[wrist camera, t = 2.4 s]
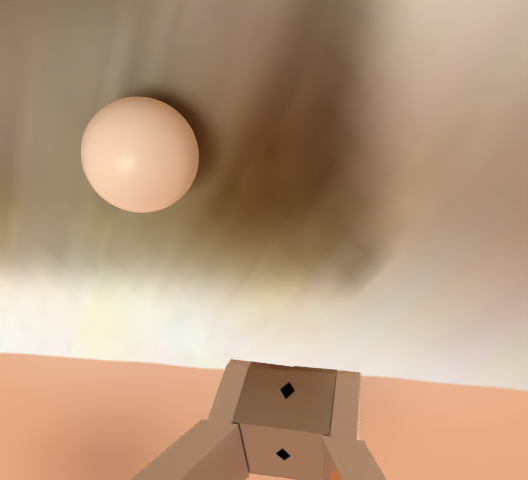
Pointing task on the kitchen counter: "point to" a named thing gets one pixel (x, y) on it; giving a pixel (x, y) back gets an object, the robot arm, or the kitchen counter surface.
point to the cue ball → (139, 154)
